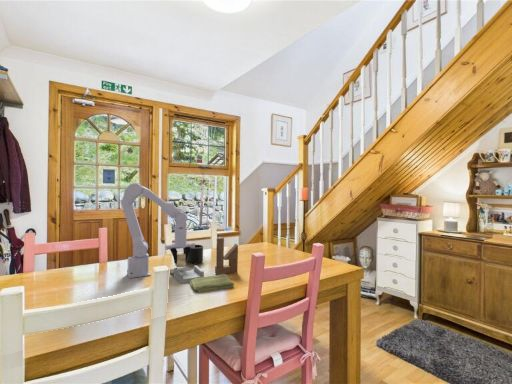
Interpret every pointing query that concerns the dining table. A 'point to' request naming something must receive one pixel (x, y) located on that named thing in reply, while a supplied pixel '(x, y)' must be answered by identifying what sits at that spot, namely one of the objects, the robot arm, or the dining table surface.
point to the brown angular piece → (226, 258)
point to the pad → (179, 270)
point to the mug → (195, 255)
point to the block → (181, 259)
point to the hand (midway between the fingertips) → (180, 262)
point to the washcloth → (211, 283)
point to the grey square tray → (188, 274)
